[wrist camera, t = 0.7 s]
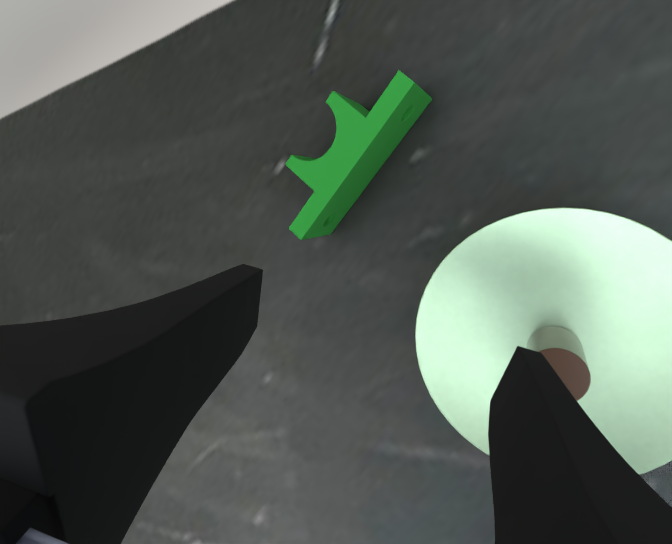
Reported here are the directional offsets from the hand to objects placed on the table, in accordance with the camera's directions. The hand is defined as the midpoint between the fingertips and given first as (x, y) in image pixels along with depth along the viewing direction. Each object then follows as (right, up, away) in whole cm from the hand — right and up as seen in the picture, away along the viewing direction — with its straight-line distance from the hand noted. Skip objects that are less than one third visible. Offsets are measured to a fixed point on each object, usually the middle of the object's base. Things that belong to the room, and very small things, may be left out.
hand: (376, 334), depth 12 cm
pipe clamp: (+1, +10, +18) cm, 20 cm away
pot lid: (+9, -2, +9) cm, 13 cm away
